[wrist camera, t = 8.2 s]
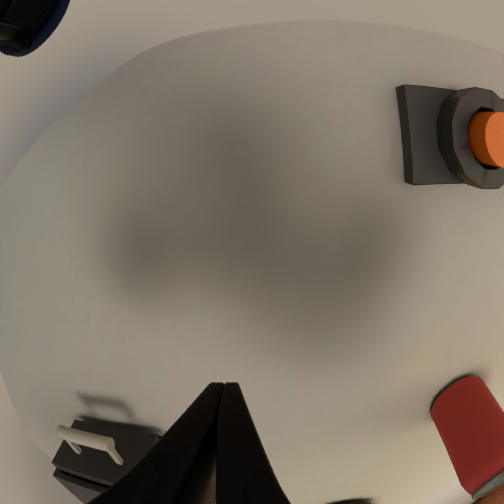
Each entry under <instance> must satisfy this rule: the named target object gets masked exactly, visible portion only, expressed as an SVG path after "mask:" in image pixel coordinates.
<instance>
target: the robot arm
mask: <svg viewBox="0 0 504 504" xmlns="http://www.w3.org/2000/svg"><path fill="white" fill-rule="evenodd" d="M55 2H56V0H0V44H2V45H6V46H10V47H14V48H17V49H21V50H28V49H29V48H30V47H31V45H32V43H33V41H34V39H35V37H36V35H37V33H38V31H39V29H40V27H41V26H42V24H43V22H44V20H45V18H46V17H47V15H48V13H49V12H50V10H51V8H52V7H53V5H54V3H55ZM145 455H146V456H143V457H142V458H141V459H140V460H139V461H138V462H137V463H136V464H135V465H134V466H133V467H132V468H131V469H130V470H129V471H128V472H127V473H126V474H125V475H124V476H122V477H121V478H120V479H119V480H118V481H116V482H115V483H114V484H113V485H111V486H110V487H109V488H107V489H106V490H105V491H103V492H102V493H101V494H99V495H98V496H97V497H95V498H94V499H93V500H91V501H90V502H88V503H87V504H215V502H216V504H291V503H290V502H289V500H288V498H287V497H286V495H285V494H284V492H283V490H282V489H281V486H280V484H279V482H278V480H277V478H276V476H275V474H274V472H273V469H272V467H271V465H270V462H269V460H268V458H267V455H266V453H265V450H264V448H263V445H262V443H261V441H260V438H259V436H258V433H257V430H256V428H255V425H254V423H253V420H252V418H251V415H250V413H249V410H248V407H247V405H246V402H245V399H244V397H243V394H242V391H241V389H240V386H239V384H238V383H237V382H227V383H225V384H224V383H222V382H212V383H210V384H209V385H208V386H207V387H206V388H205V389H204V391H203V392H202V393H201V394H200V395H199V396H198V397H197V399H196V400H195V401H194V402H193V403H192V404H191V405H190V406H189V408H188V409H187V410H186V411H185V412H184V413H183V414H182V415H181V416H180V418H179V419H178V420H177V421H176V422H175V423H174V424H173V425H172V426H171V427H170V429H169V430H168V431H167V432H166V433H165V434H164V435H163V436H162V437H161V438H160V439H159V440H158V441H157V443H156V444H155V445H154V446H153V447H152V448H151V449H150V450H149V451H148V452H147V453H146V454H145Z"/></svg>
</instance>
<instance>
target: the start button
mask: <svg viewBox="0 0 504 504" xmlns="http://www.w3.org/2000/svg"><path fill="white" fill-rule="evenodd" d="M468 140H469V145H470V148H471V150H472V152H473V154H474V156H475V157H476V158H477V159H478V160H479V161H480V162H481V163H483V164H487V165H492V166H497V167H501V168H504V113H503V112H479V113H477V114H475V115H474V116H473V118H472V119H471V121H470V123H469V127H468Z"/></svg>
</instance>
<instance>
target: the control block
mask: <svg viewBox="0 0 504 504" xmlns="http://www.w3.org/2000/svg"><path fill="white" fill-rule="evenodd" d="M396 91H397V97H398V104H399V112H400V120H401V130H402V140H403V152H404V168H405V182H406V183H408V184H411V185H430V184H459V183H465V184H467V185H471V186H474V187H477V188H480V189H499V188H500V187H501V186H502V185H503V184H504V168H501V167H497V166H492V165H487V164H483V163H481V162H480V161H479V160H478V159H477V158H476V157H475V156H474V154H473V152H472V150H471V148H470V145H469V140H468V127H469V123H470V121H471V119H472V118H473V116H474V115H475V114H477V113H479V112H503V113H504V99H500V98H499V97H498V96H497V95H496V94H495V93H494V92H493V91H491V90H487V89H482V88H477V87H472V88H467V89H461V90H451V89H444V88H436V87H427V86H417V85H402V86H399V87H396Z"/></svg>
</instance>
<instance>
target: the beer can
mask: <svg viewBox="0 0 504 504" xmlns="http://www.w3.org/2000/svg"><path fill="white" fill-rule="evenodd" d="M431 417H432V419H433V421H434V423H435V425H436V427H437V429H438V432H439V434H440V436H441V438H442V441H443V443H444V445H445V447H446V450H447V452H448V454H449V457H450V459H451V461H452V464H453V466H454V469H455V471H456V474H457V476H458V479H459V481H460V484H461V486H462V487H463V488H464V490H466V491H467V492H468V493H469V494H470V495H472V499H478V498H481V497H483V496H485V495H487V494H489V493H490V492H492V491H494V490H495V489H497V488H498V487H500V486H501V485H503V484H504V412H503V410H502V408H501V407H500V405H499V404H498V402H497V401H496V399H495V398H494V396H493V395H492V393H491V392H490V390H489V389H488V387H487V386H486V385H485V383H484V382H483V380H482V379H481V378H480V377H477V376H469V377H465V378H462V379H460V380H458V381H456V382H454V383H453V384H452V385H450V386H449V387H447V388H446V389H445V390H444V391H443V392H442V393H441V394H440V396H439V397H438V398H437V399H436V401H435V403H434V405H433V406H432V411H431Z"/></svg>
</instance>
